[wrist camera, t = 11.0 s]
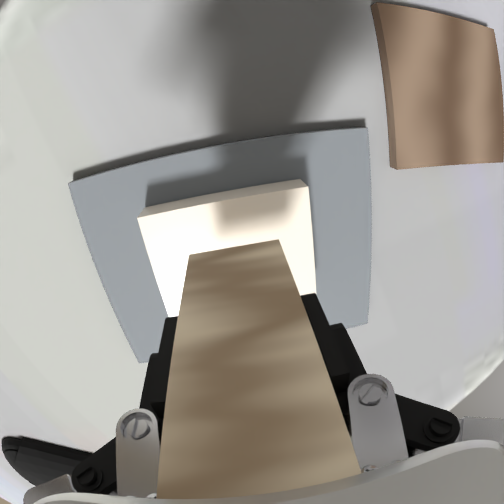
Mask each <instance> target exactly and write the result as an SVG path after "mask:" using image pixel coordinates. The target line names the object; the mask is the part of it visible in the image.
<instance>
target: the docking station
mask: <svg viewBox="0 0 504 504" xmlns="http://www.w3.org/2000/svg"><path fill="white" fill-rule="evenodd" d="M2 451H3V453H4V455H5V458H6V459H7V461H8V462H9V463H10V465H11V466H12V467H13V468H14V469H15V470H16V471H17V472H18V473H19V474H20V475H21V476H22V477H24V478H25V479H26V480H28V481H29V482H30V483H31V484H33V485H35V486H38V485H41V484H43V483H46V482H48V481H51V480H53V479H55V478H58V477H60V476H63V475H65V474H68V475H69V476H70V475H72V472H73V470H74V469H75V467H76V466H77V465H78V464H79V463H81V462H82V461H84V460H85V459H86V458H88V457H89V456H91V455H92V454H91V453H86V452H82V451H77V450H73V449H69V448H65V447H61V446H57V445H52V444H48V443H44V442H41V441H37V440H32V439H28V438H24V437H23V438H22V440H20V439H16V438H6V439H4V440H3V441H2Z"/></svg>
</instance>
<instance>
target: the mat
mask: <svg viewBox="0 0 504 504" xmlns="http://www.w3.org/2000/svg"><path fill="white" fill-rule="evenodd" d="M296 179H301V180H302V181H303V182H304V183H305V184H306V185H307V186H308V189H309V199H310V210H311V222H312V234H313V248H314V262H315V279H316V295H317V297H318V300H319V302H320V304H321V306H322V309H323V311H324V313H325V315H326V318H327V320H328V322H329V325H333V324H338V323H342V324H343V325H344V327H345V329H347V328H352V327H356V326H360V325H364V324H367V323H368V311H369V296H370V278H371V247H372V200H371V170H370V152H369V137H368V128H366V127H354V128H341V129H329V130H319V131H309V132H300V133H292V134H284V135H276V136H269V137H262V138H256V139H249V140H243V141H237V142H231V143H225V144H220V145H214V146H209V147H204V148H199V149H194V150H189V151H184V152H180V153H175V154H171V155H166V156H162V157H158V158H153V159H149V160H145V161H141V162H137V163H133V164H129V165H126V166H122V167H118V168H115V169H111V170H107V171H104V172H100V173H97V174H94V175H90V176H87V177H84V178H80V179H77V180H74V181H72V182H70V183H68V186H69V189H70V193H71V196H72V199H73V203H74V206H75V209H76V212H77V216H78V219H79V222H80V225H81V228H82V231H83V234H84V237H85V240H86V242H87V245H88V248H89V251H90V253H91V256H92V259H93V261H94V264H95V267H96V269H97V272H98V274H99V277H100V279H101V282H102V284H103V287H104V289H105V292H106V294H107V296H108V299H109V301H110V303H111V306H112V308H113V310H114V312H115V315H116V317H117V319H118V321H119V323H120V326H121V328H122V330H123V332H124V334H125V336H126V338H127V340H128V342H129V344H130V346H131V348H132V350H133V352H134V354H135V356H136V358H137V360H138V362H139V363H146V362H149V358H150V355H151V354H152V353H158V351H159V346H160V341H161V337H162V332H163V327H164V322H165V319H166V317H169V315H168V312H167V309H166V307H165V304H164V301H163V298H162V295H161V292H160V289H159V286H158V283H157V281H156V278H155V275H154V271H153V268H152V265H151V262H150V259H149V256H148V253H147V250H146V246H145V243H144V240H143V236H142V233H141V230H140V226H139V223H138V219H137V218H138V216H139V215H140V213H141V212H142V210H143V209H144V207H149V206H154V205H158V204H163V203H167V202H172V201H177V200H182V199H187V198H192V197H197V196H202V195H207V194H213V193H218V192H223V191H229V190H234V189H240V188H246V187H252V186H258V185H264V184H270V183H276V182H283V181H289V180H296Z"/></svg>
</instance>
